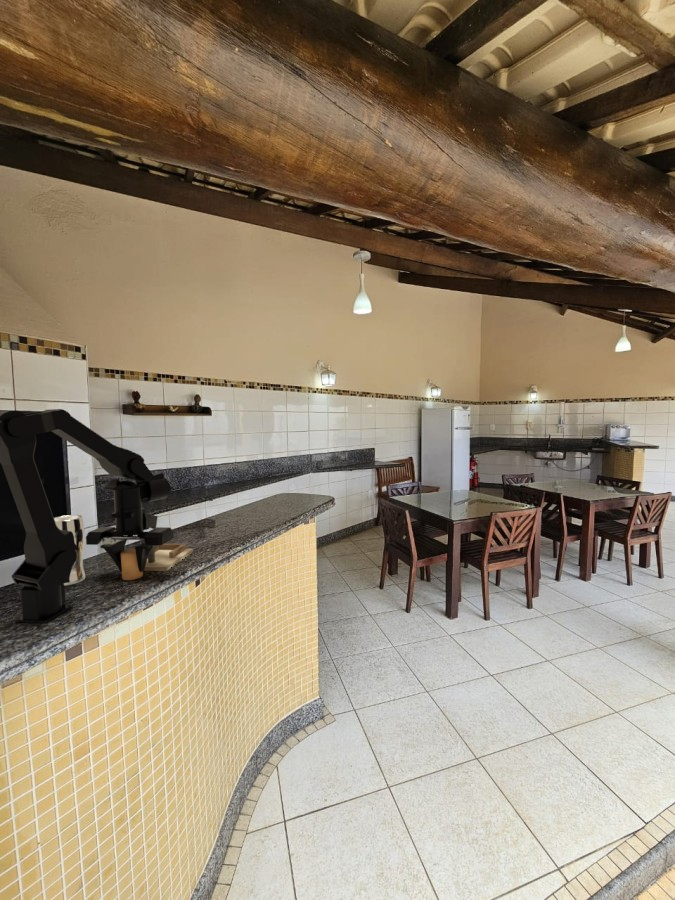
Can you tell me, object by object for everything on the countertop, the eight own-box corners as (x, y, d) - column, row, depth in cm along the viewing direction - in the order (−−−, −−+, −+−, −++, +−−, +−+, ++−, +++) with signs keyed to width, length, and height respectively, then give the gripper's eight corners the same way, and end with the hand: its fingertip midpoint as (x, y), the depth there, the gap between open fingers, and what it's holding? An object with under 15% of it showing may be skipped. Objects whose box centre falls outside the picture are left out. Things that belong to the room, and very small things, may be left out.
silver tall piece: (69, 587, 89) (65, 522, 88) (44, 585, 90) (39, 521, 89) (94, 575, 96) (90, 514, 95) (70, 574, 97) (66, 514, 96)
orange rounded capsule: (135, 580, 92) (134, 555, 91) (118, 579, 92) (116, 554, 92) (146, 573, 96) (145, 548, 96) (129, 572, 96) (128, 548, 96)
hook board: (166, 570, 98) (165, 550, 97) (121, 570, 99) (120, 550, 99) (192, 552, 112) (192, 534, 111) (152, 551, 113) (151, 534, 113)
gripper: (183, 499, 100) (186, 560, 101) (114, 499, 102) (117, 559, 103) (159, 509, 89) (162, 577, 90) (82, 509, 91) (86, 575, 92)
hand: (132, 571), depth 94 cm, fingers closed on orange rounded capsule, 4 cm apart
